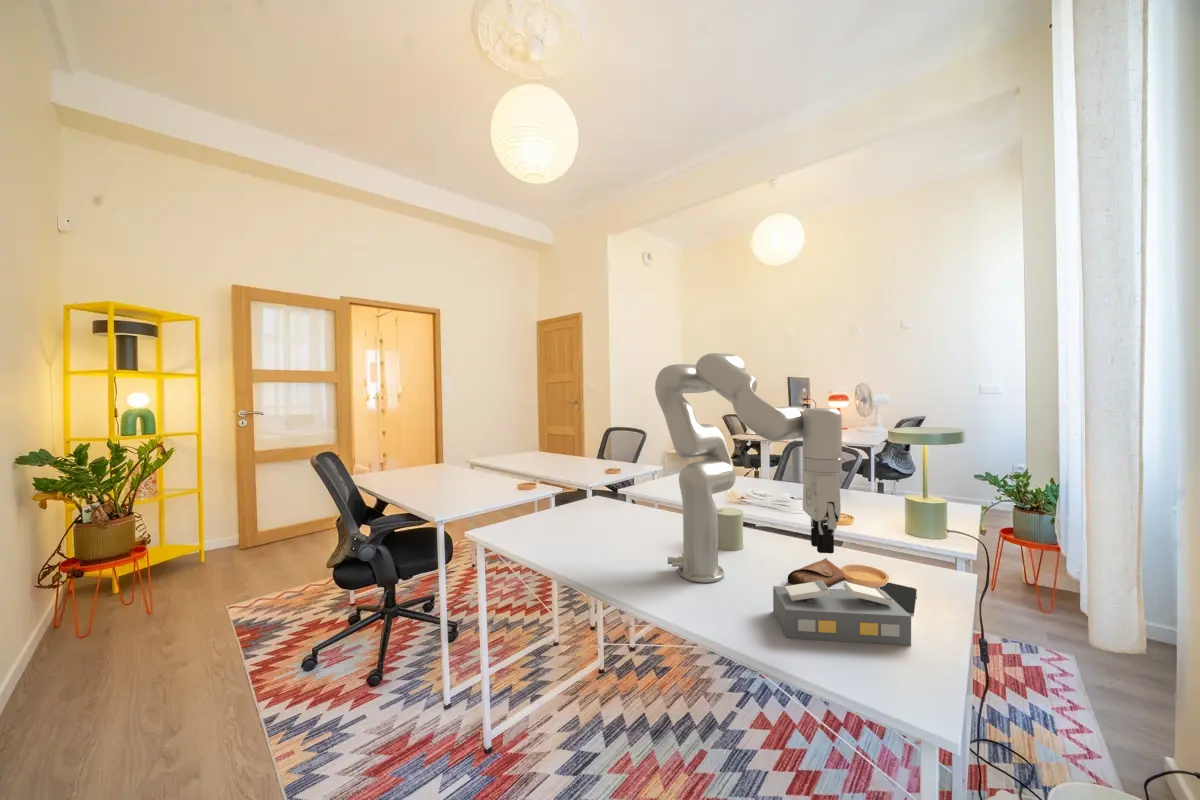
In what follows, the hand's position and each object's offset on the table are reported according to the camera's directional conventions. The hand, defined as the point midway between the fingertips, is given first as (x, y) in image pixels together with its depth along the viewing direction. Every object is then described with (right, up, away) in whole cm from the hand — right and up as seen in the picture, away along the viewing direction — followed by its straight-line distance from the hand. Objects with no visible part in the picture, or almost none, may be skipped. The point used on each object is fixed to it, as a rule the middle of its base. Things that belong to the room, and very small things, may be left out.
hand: (822, 548), depth 96 cm
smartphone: (+24, -17, +12) cm, 32 cm away
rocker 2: (+9, -10, -1) cm, 14 cm away
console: (+3, -17, 0) cm, 17 cm away
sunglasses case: (+11, -17, +23) cm, 31 cm away
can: (-6, -16, +50) cm, 53 cm away
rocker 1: (-3, -10, +1) cm, 11 cm away
